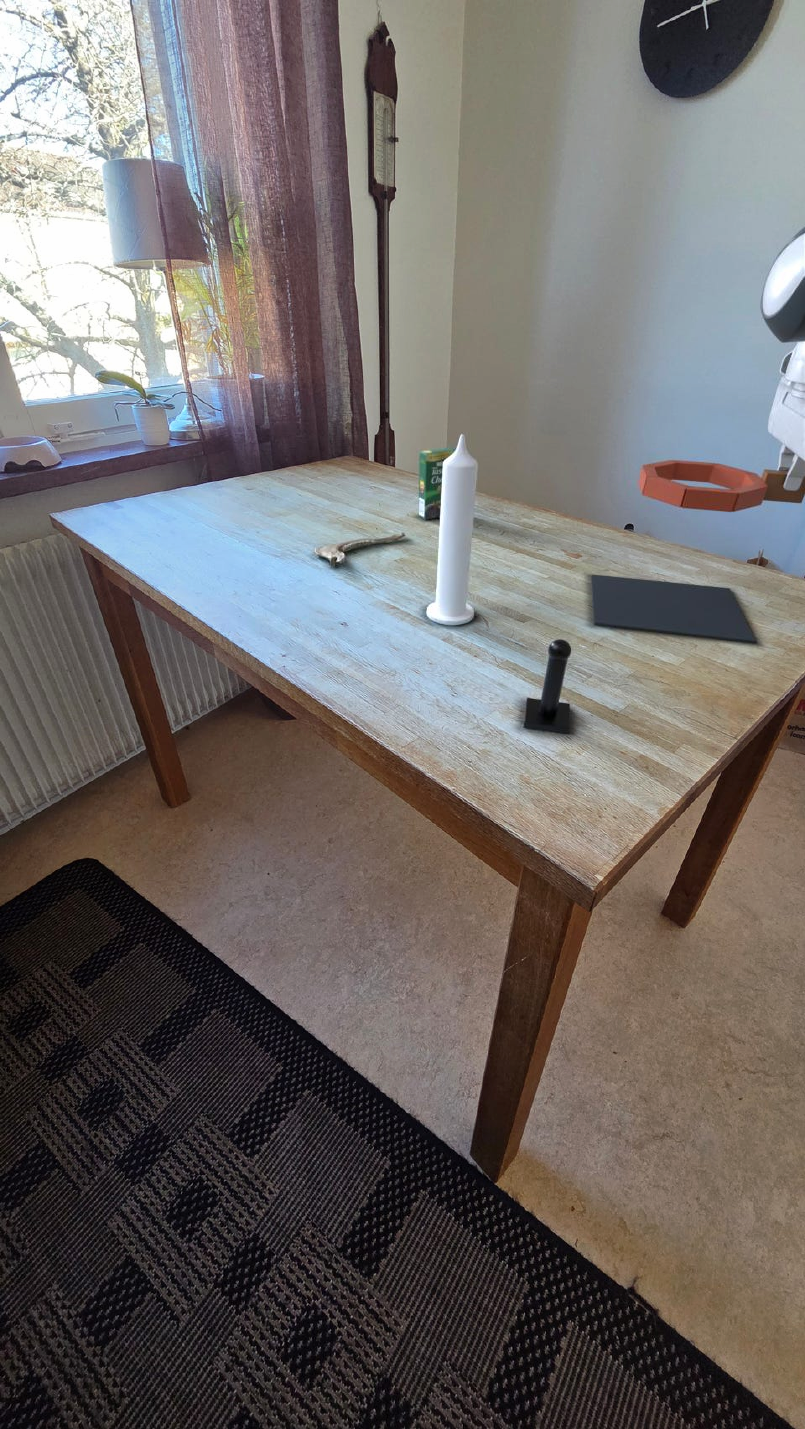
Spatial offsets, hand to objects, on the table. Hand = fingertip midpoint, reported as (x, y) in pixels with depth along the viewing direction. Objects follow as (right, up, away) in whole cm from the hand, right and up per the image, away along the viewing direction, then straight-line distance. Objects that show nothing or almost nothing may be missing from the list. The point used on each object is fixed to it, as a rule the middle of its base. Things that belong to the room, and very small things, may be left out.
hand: (785, 485), depth 80 cm
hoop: (-8, 0, +2) cm, 8 cm away
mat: (-10, -14, +13) cm, 22 cm away
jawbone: (-57, -2, +29) cm, 64 cm away
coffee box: (-44, +11, +46) cm, 65 cm away
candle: (-44, -16, +10) cm, 48 cm away
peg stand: (-34, -31, -11) cm, 48 cm away
